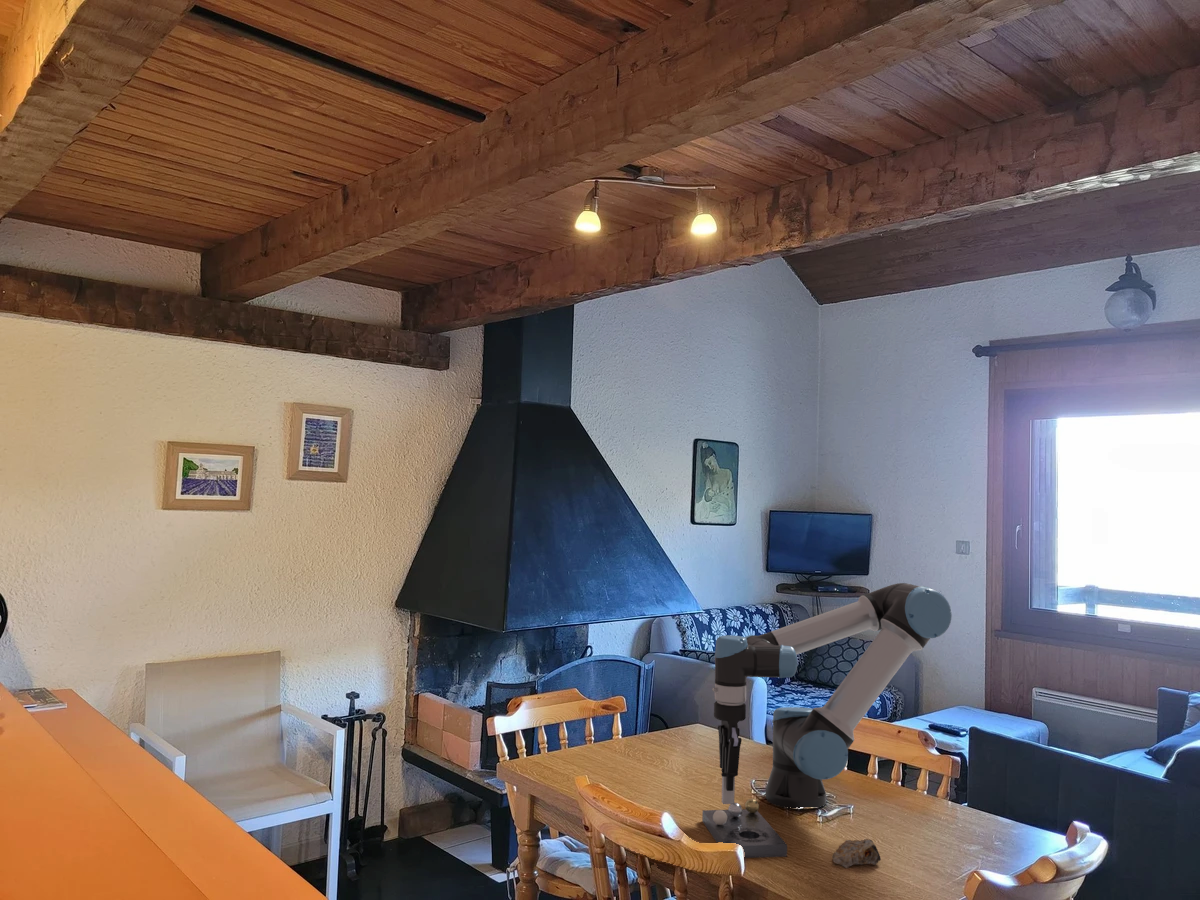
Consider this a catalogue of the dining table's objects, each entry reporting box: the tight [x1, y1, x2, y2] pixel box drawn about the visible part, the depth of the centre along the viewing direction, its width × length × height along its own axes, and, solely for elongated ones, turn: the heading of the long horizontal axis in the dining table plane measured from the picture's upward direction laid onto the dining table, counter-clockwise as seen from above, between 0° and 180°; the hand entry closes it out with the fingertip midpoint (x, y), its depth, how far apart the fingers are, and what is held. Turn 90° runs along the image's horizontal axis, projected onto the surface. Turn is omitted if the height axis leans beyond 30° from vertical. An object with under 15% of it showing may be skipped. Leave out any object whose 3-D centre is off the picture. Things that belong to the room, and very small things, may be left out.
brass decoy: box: [744, 798, 760, 813], centre depth 208 cm, size 3×3×3 cm
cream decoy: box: [713, 809, 727, 825], centre depth 200 cm, size 3×3×3 cm
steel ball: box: [727, 802, 743, 818], centre depth 205 cm, size 3×3×3 cm
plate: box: [701, 808, 788, 859], centre depth 198 cm, size 22×13×2 cm, turn 7°
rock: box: [831, 838, 882, 869], centre depth 187 cm, size 9×6×10 cm
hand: (727, 802), depth 210 cm, fingers closed
